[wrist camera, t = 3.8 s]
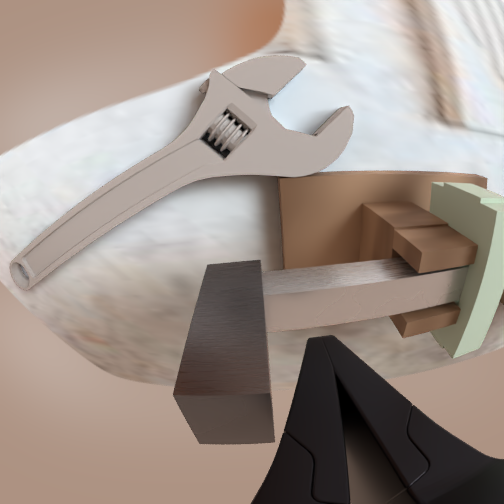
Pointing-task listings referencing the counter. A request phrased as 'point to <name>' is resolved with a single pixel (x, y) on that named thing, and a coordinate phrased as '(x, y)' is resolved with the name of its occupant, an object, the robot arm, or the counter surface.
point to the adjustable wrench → (198, 159)
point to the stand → (374, 228)
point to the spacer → (484, 268)
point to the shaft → (281, 319)
